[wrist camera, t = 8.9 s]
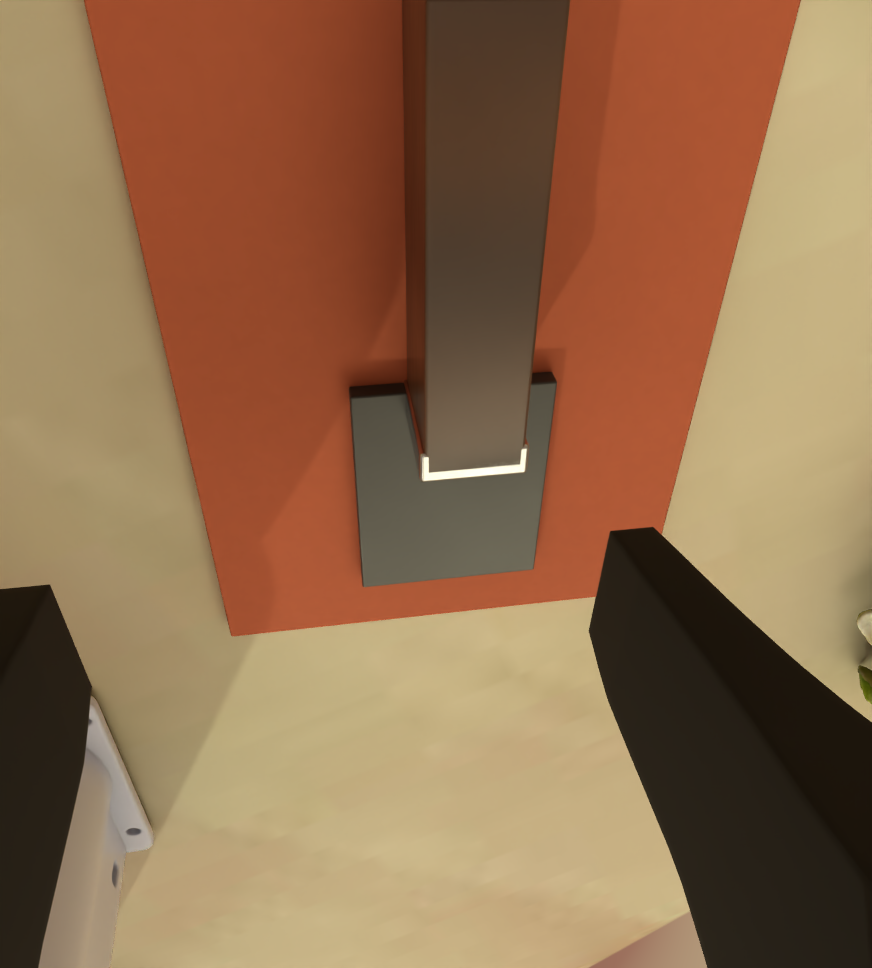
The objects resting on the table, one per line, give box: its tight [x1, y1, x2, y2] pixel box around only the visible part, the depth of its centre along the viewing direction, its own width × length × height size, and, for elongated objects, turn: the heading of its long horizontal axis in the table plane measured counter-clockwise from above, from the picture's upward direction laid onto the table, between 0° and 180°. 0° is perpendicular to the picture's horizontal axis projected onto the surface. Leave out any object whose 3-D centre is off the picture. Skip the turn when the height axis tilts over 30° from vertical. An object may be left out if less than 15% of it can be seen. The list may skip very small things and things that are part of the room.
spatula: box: [349, 0, 570, 587], centre depth 18 cm, size 15×5×3 cm, turn 179°
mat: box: [84, 0, 801, 636], centre depth 19 cm, size 20×13×1 cm, turn 179°
